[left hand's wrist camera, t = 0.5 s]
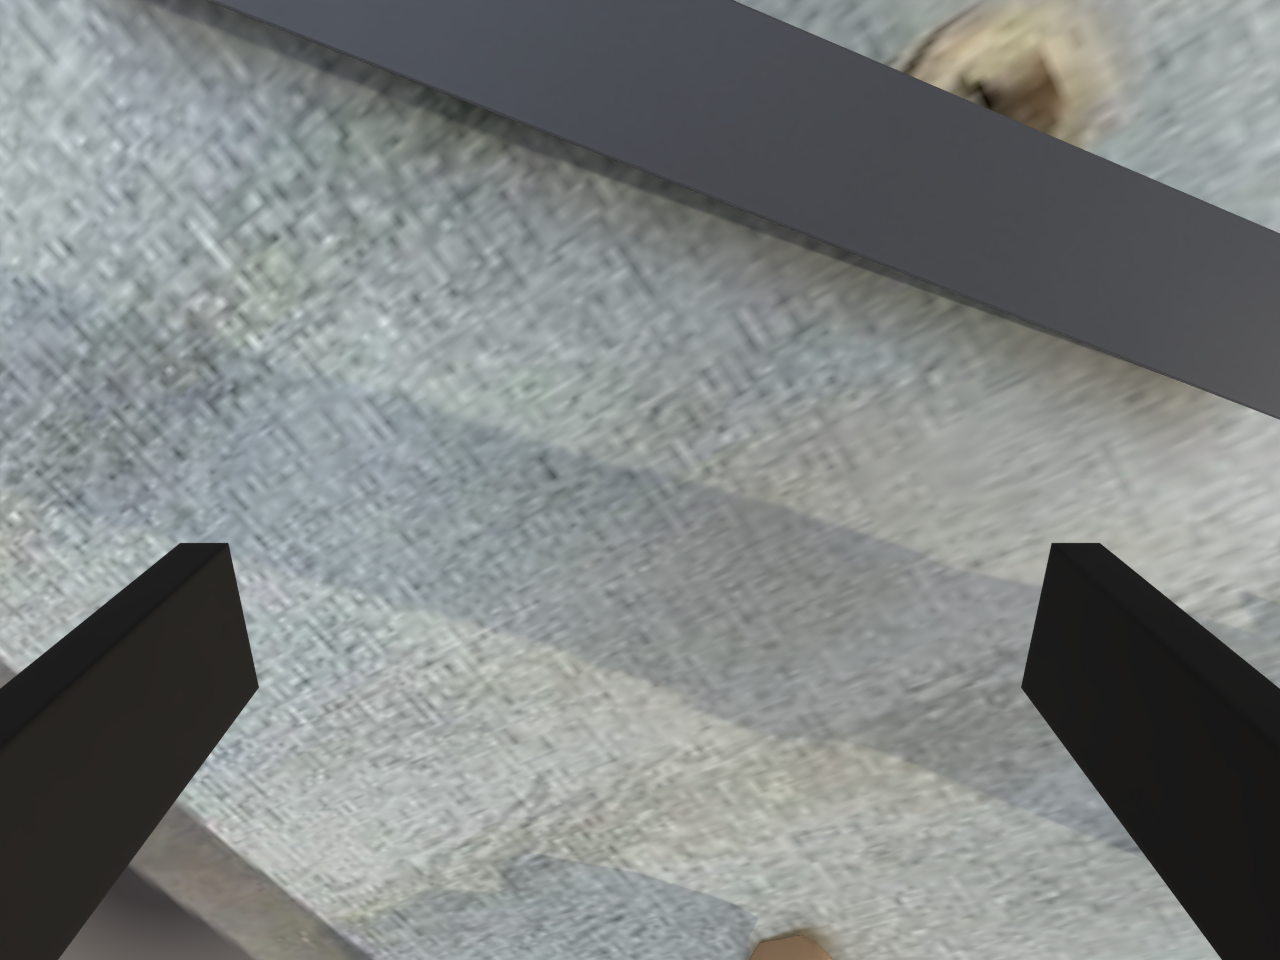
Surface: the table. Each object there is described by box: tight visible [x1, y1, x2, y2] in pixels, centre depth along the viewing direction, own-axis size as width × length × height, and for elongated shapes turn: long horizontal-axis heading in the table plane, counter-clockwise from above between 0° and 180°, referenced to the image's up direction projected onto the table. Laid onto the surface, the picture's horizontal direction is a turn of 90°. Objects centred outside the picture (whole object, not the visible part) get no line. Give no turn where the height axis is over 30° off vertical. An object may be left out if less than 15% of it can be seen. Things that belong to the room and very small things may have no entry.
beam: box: [207, 0, 1280, 419], centre depth 29 cm, size 51×6×8 cm, turn 70°
